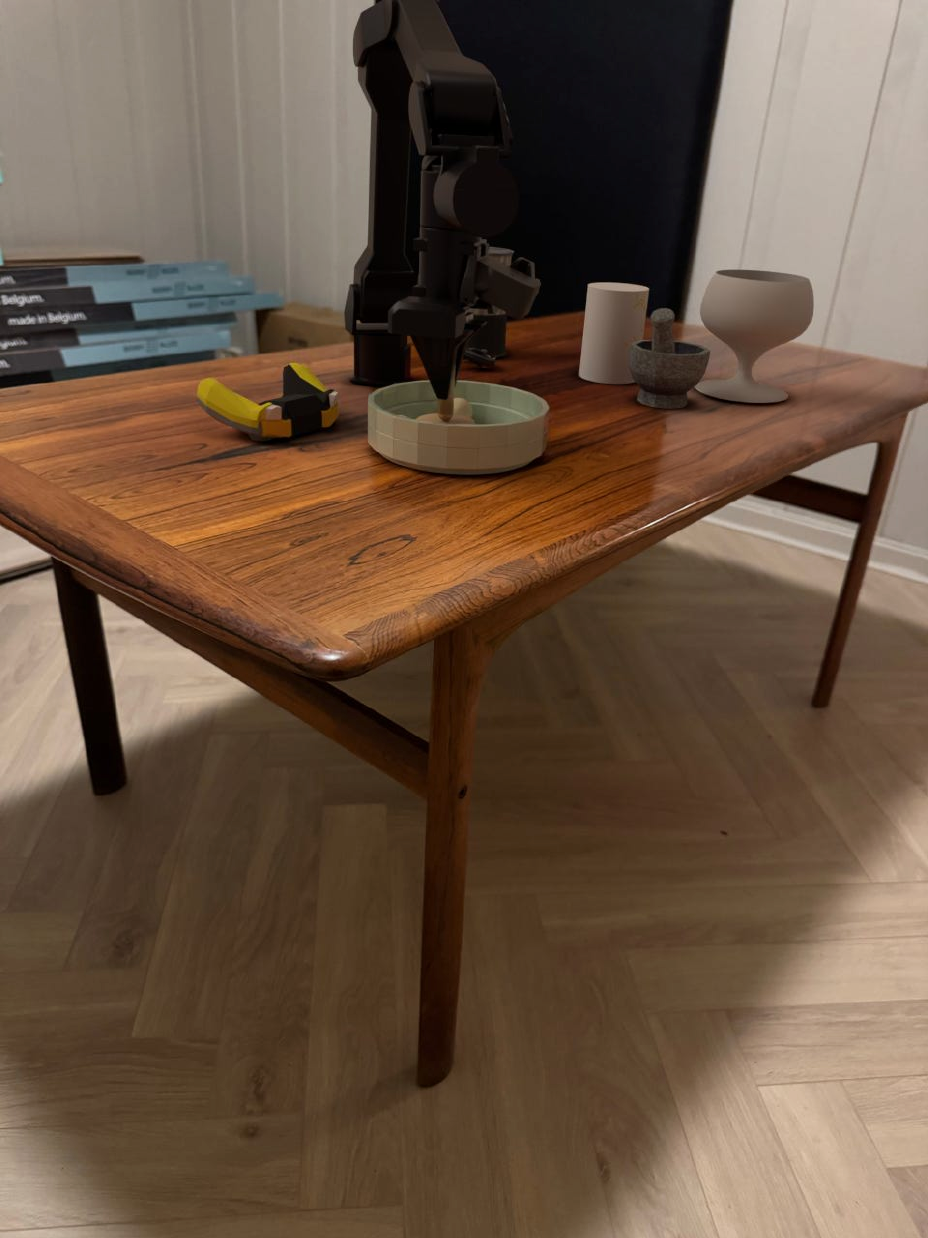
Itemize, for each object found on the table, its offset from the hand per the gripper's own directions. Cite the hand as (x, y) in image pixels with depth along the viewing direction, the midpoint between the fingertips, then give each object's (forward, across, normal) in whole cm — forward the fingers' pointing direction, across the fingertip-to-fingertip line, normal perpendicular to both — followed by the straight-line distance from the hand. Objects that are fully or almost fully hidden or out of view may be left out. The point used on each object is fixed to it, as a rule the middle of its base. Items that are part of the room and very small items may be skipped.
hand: (445, 396), depth 92 cm
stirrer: (+4, 0, 0) cm, 4 cm away
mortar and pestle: (+6, +31, -20) cm, 37 cm away
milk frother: (+6, +46, +8) cm, 47 cm away
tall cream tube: (+6, +43, -12) cm, 45 cm away
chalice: (+6, +41, -30) cm, 51 cm away
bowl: (+6, +2, -1) cm, 6 cm away
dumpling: (+3, +7, 0) cm, 8 cm away
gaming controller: (+6, +2, +19) cm, 20 cm away
